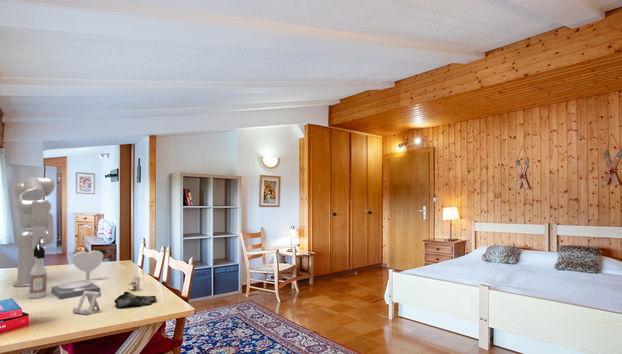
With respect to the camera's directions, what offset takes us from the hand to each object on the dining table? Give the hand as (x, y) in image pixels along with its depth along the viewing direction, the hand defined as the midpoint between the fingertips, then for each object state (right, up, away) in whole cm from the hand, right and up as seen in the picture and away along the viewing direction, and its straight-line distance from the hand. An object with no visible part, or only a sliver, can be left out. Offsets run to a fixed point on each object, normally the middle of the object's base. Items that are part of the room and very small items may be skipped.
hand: (39, 257), depth 188 cm
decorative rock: (+57, -19, -14) cm, 62 cm away
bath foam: (0, -20, -1) cm, 20 cm away
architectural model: (+44, -21, +11) cm, 50 cm away
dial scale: (+13, -20, +8) cm, 26 cm away
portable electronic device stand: (+41, -18, -26) cm, 52 cm away
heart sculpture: (+5, -22, +33) cm, 40 cm away
